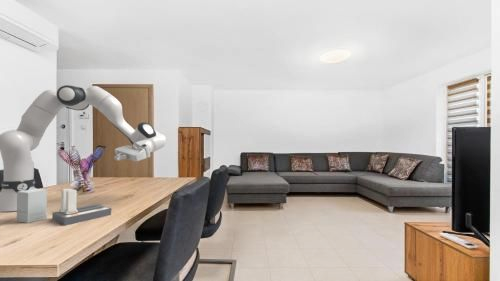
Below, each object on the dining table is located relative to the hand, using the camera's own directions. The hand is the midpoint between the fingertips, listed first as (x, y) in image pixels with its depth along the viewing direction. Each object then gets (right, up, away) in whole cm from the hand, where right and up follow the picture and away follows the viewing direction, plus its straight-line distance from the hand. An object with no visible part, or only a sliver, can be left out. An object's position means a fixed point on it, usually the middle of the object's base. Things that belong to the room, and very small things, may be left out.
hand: (115, 158), depth 123 cm
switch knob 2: (-7, -21, -21) cm, 31 cm away
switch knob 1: (-12, -21, -18) cm, 30 cm away
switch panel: (-6, -25, -16) cm, 30 cm away
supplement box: (-25, -25, -20) cm, 40 cm away
